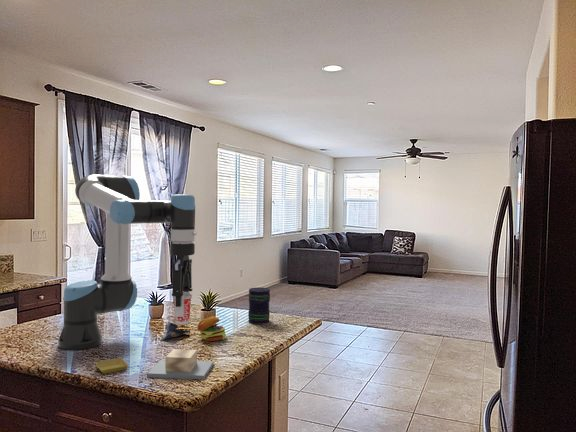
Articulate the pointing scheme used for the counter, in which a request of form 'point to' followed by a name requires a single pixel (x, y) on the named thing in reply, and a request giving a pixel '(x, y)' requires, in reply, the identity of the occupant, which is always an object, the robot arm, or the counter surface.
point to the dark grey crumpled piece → (173, 331)
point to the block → (181, 360)
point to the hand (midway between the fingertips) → (182, 313)
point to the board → (196, 373)
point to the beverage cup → (187, 305)
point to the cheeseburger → (211, 329)
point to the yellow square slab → (112, 365)
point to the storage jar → (259, 305)
